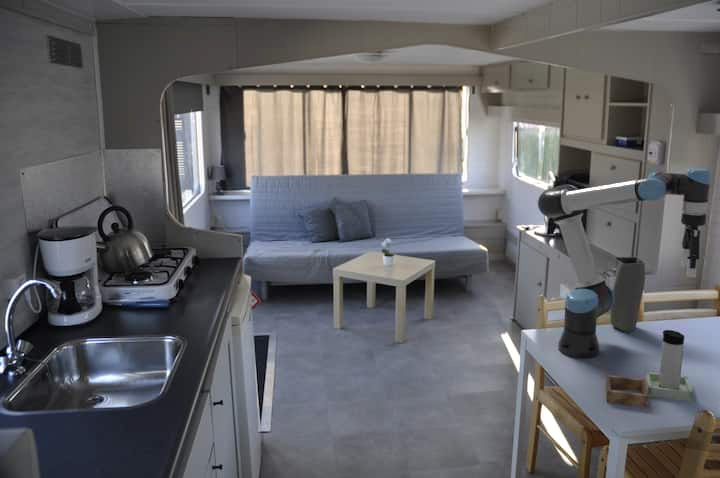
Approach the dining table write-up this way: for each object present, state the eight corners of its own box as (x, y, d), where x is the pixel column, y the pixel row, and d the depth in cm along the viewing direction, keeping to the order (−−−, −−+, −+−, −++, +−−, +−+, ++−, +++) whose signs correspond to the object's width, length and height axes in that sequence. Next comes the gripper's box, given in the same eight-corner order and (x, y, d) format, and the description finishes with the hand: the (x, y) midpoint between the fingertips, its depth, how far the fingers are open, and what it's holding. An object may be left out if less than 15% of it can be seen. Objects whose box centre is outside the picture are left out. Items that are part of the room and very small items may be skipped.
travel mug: (653, 383, 205) (658, 328, 200) (672, 382, 206) (677, 327, 201) (664, 392, 199) (669, 336, 194) (683, 391, 200) (689, 334, 195)
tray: (648, 395, 199) (649, 387, 199) (644, 379, 210) (645, 371, 210) (692, 401, 195) (693, 393, 194) (686, 384, 206) (687, 376, 205)
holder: (606, 402, 196) (607, 390, 195) (605, 385, 207) (606, 374, 206) (647, 407, 192) (648, 396, 191) (643, 390, 203) (644, 379, 202)
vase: (634, 323, 261) (640, 256, 254) (644, 334, 249) (650, 264, 242) (605, 322, 263) (610, 256, 256) (613, 333, 251) (618, 264, 244)
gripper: (713, 220, 198) (706, 282, 203) (700, 207, 221) (694, 262, 226) (687, 219, 201) (681, 280, 205) (677, 206, 223) (671, 261, 228)
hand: (688, 271), depth 216 cm, fingers open, 13 cm apart
